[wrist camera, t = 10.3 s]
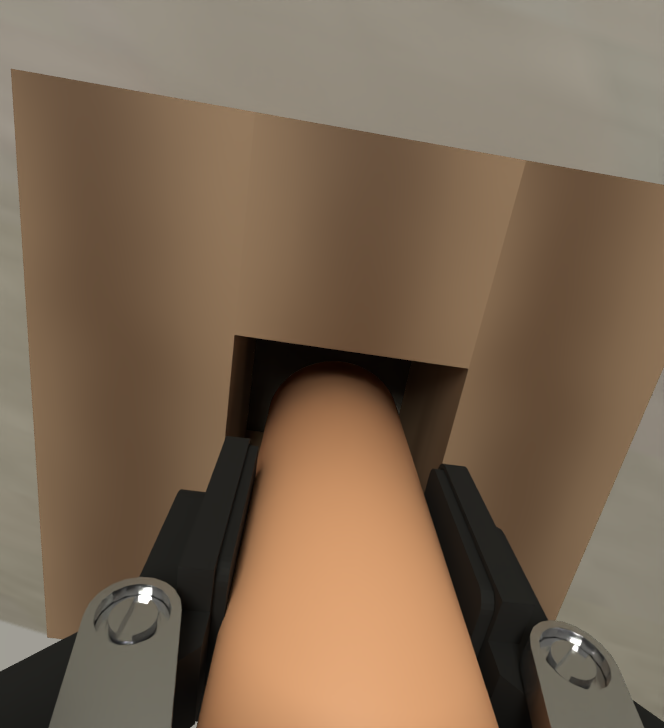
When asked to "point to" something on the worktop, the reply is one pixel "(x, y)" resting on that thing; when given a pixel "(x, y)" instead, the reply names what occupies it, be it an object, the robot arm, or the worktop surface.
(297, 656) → the peg
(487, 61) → the worktop surface
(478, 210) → the socket block
